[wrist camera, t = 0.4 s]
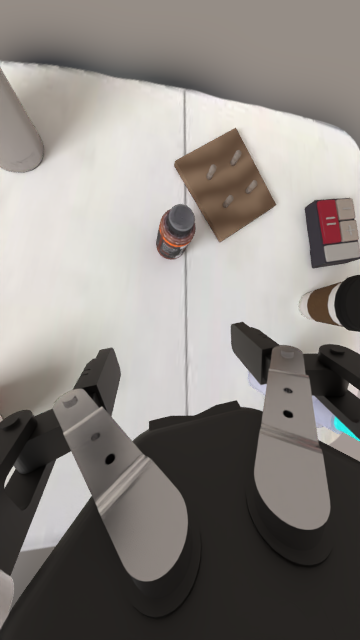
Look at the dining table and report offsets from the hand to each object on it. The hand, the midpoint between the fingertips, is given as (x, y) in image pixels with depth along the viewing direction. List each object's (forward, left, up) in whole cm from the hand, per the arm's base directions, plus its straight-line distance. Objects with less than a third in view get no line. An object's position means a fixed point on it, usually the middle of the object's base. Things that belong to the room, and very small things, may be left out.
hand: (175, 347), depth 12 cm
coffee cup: (+19, +34, -26) cm, 47 cm away
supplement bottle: (-11, +12, -26) cm, 31 cm away
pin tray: (-15, +30, -26) cm, 43 cm away
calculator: (+7, +49, -27) cm, 56 cm away
